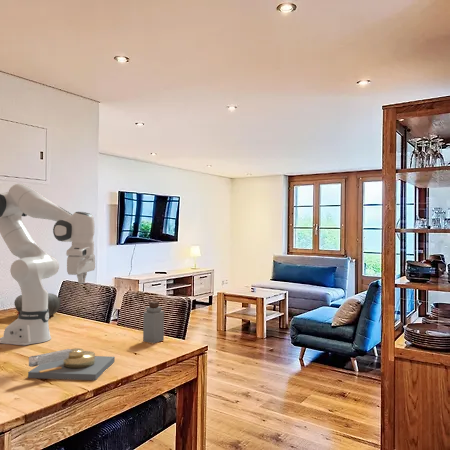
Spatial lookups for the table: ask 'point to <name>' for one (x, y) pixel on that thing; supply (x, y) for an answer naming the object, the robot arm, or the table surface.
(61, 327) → the table surface
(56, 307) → the gourd
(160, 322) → the perfume bottle
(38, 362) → the dial
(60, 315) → the table surface
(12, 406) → the table surface
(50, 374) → the stand plate
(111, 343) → the table surface
